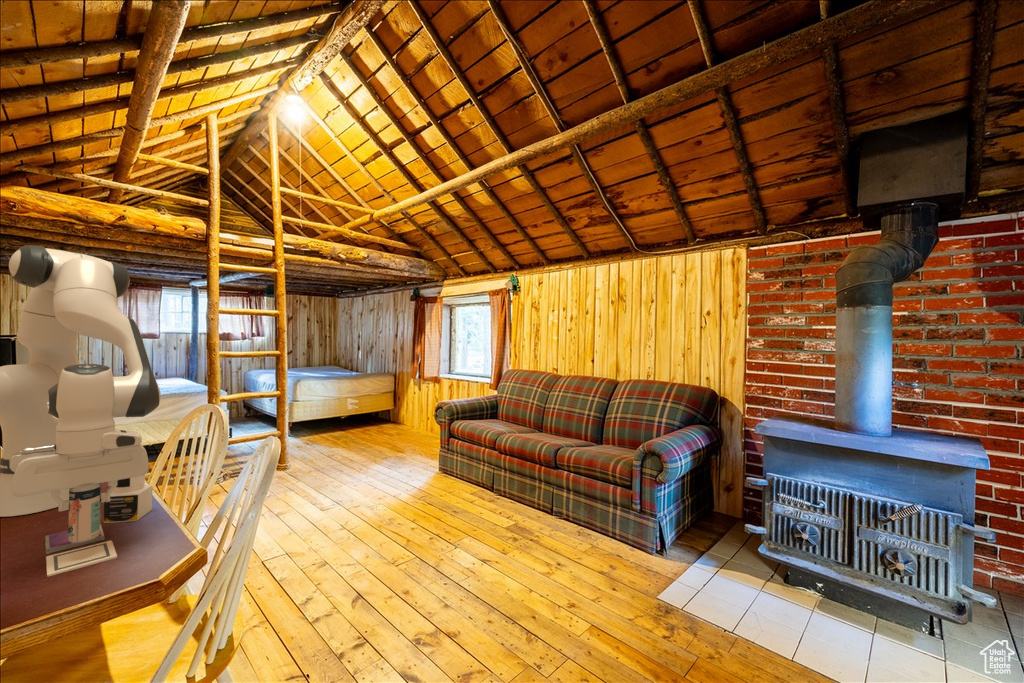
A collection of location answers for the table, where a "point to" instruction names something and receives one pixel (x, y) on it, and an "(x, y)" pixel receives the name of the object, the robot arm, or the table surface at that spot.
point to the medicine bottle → (128, 501)
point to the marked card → (80, 558)
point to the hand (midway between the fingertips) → (84, 505)
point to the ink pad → (66, 541)
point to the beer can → (84, 513)
